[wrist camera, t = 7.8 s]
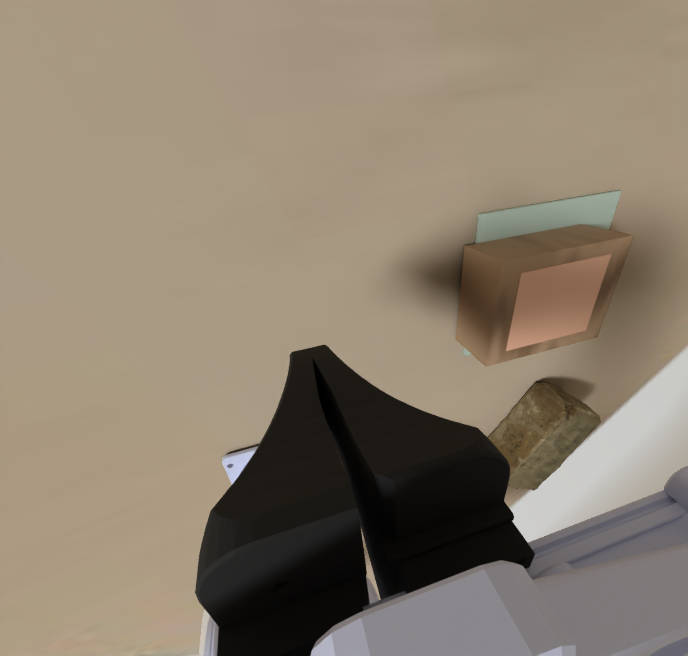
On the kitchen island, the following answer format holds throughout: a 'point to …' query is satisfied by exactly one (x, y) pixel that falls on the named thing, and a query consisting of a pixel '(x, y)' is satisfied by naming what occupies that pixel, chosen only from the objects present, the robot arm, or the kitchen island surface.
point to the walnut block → (537, 290)
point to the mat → (547, 217)
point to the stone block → (542, 433)
